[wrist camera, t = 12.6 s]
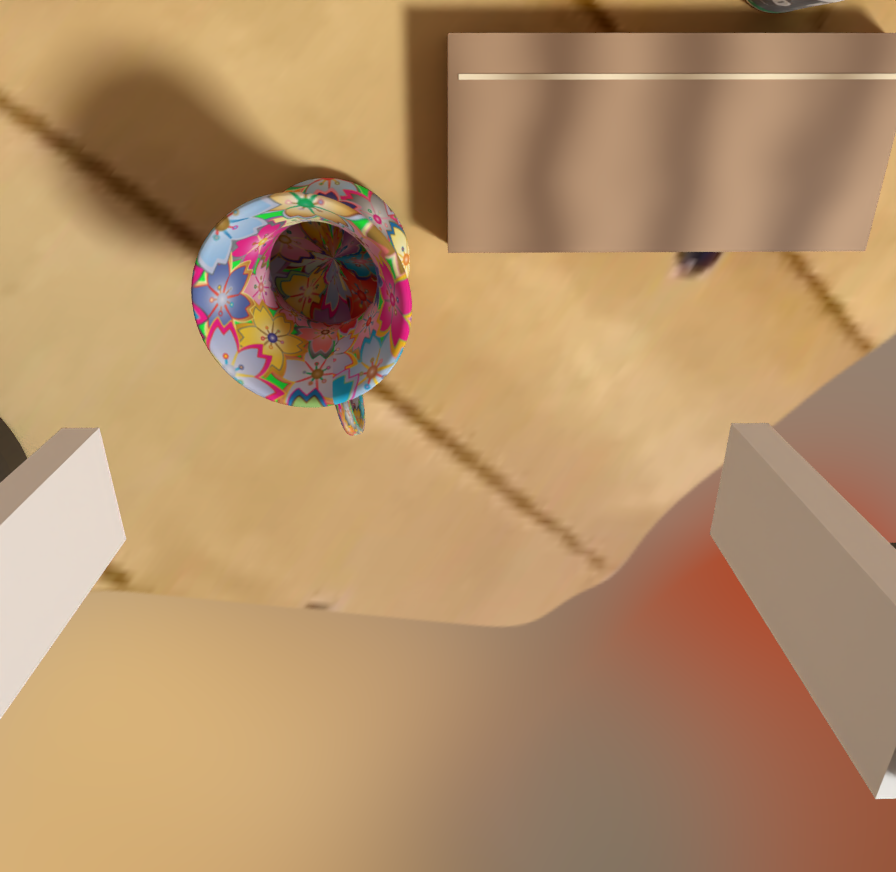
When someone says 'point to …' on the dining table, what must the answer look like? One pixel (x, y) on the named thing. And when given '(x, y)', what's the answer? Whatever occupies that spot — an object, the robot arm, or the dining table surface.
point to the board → (667, 141)
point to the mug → (307, 295)
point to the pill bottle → (786, 4)
